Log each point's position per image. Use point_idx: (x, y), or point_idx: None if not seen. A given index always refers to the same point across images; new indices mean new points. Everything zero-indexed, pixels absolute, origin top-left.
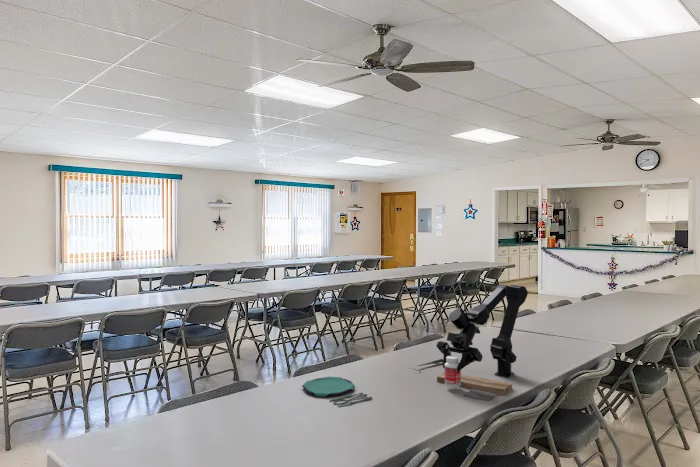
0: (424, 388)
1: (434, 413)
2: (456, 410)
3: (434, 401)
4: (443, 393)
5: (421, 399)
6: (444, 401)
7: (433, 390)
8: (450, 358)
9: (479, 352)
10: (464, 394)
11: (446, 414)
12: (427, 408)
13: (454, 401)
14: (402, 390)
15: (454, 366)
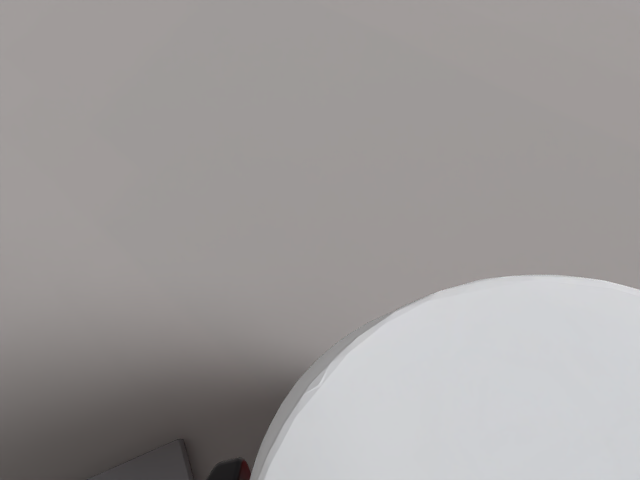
0: (601, 218)
1: (83, 8)
2: (7, 145)
3: (245, 112)
4: (364, 294)
5: (341, 55)
6: (194, 176)
7: (499, 262)
8: (423, 349)
9: None
10: (176, 452)
11: (17, 56)
12: (173, 12)
13: (138, 247)
14: (623, 29)
15: (270, 425)
